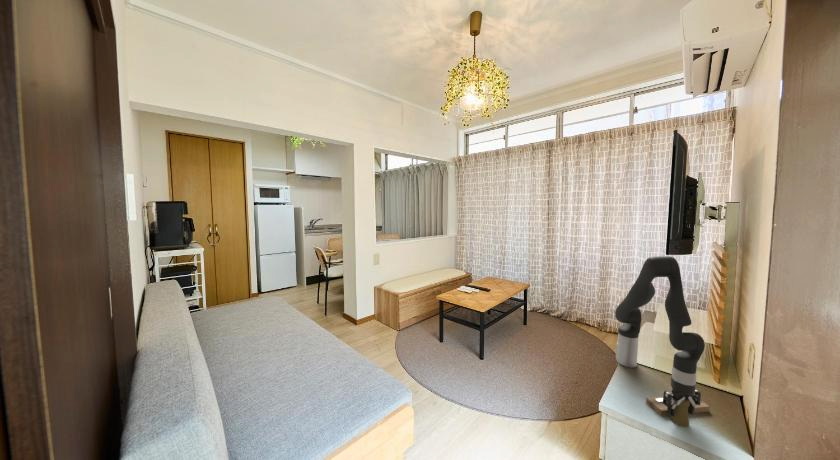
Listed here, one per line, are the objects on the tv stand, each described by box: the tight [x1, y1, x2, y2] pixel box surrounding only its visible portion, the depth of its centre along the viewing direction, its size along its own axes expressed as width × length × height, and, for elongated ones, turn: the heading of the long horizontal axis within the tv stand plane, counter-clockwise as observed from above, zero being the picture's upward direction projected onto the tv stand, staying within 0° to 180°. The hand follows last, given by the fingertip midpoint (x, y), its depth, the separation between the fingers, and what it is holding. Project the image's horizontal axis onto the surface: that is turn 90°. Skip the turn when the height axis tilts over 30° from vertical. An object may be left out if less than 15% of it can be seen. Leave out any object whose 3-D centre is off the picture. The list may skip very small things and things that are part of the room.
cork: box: [669, 399, 690, 428], centre depth 121 cm, size 6×6×11 cm
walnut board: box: [645, 395, 710, 417], centre depth 129 cm, size 8×22×3 cm, turn 93°
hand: (680, 414), depth 121 cm, fingers open, 8 cm apart
